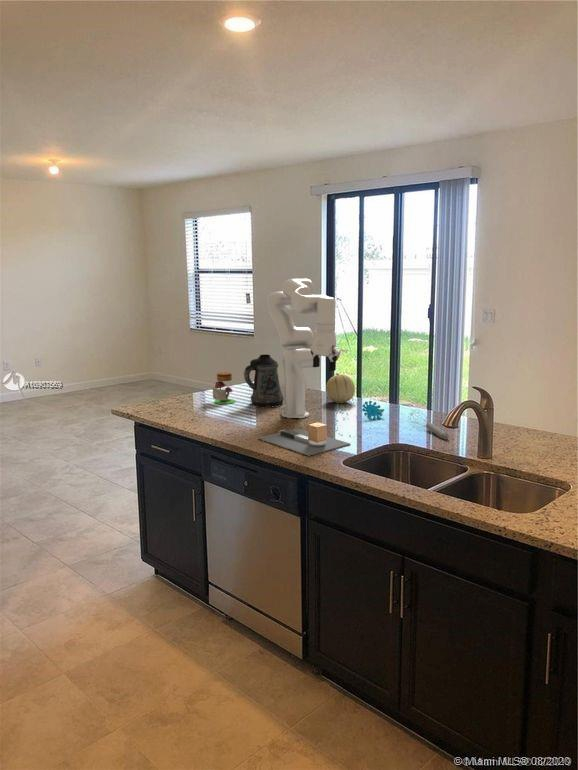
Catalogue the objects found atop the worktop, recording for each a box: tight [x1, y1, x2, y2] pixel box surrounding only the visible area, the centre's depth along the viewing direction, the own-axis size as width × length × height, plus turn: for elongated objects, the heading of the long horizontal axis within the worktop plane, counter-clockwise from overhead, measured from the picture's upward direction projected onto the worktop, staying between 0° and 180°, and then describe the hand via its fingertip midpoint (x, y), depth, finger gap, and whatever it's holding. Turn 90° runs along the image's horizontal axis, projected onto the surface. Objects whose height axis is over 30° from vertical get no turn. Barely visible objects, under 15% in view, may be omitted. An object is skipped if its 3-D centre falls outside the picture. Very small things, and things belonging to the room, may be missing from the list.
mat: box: [257, 428, 351, 457], centre depth 235 cm, size 30×22×1 cm
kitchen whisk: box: [407, 409, 450, 440], centre depth 251 cm, size 6×34×6 cm, turn 14°
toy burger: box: [211, 371, 236, 405], centre depth 305 cm, size 12×13×15 cm
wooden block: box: [307, 422, 328, 443], centre depth 228 cm, size 5×5×6 cm
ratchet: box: [278, 429, 326, 447], centre depth 235 cm, size 24×6×6 cm, turn 41°
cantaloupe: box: [325, 373, 356, 404], centre depth 302 cm, size 15×15×15 cm
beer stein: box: [243, 354, 285, 408], centre depth 297 cm, size 16×19×25 cm
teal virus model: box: [361, 400, 385, 421], centre depth 273 cm, size 11×6×10 cm
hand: (324, 368), depth 247 cm, fingers open, 9 cm apart
